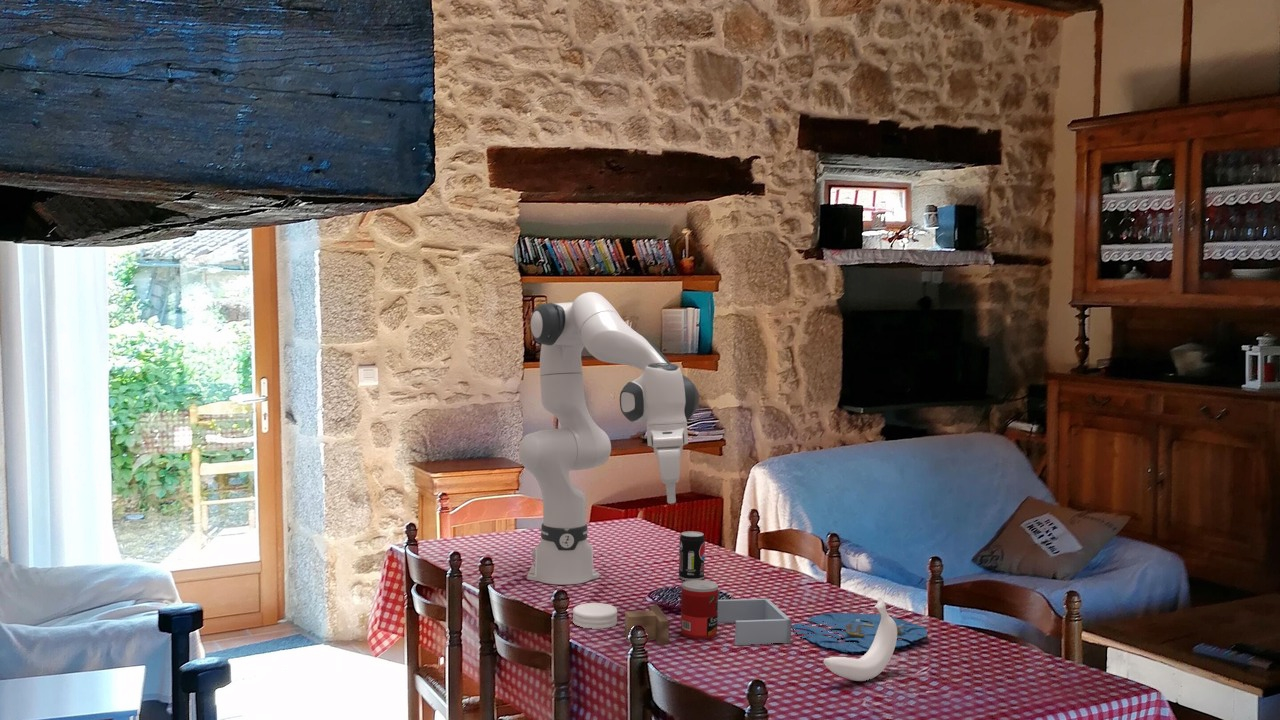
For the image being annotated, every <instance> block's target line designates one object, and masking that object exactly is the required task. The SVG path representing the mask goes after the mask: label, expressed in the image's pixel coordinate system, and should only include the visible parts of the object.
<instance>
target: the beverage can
mask: <svg viewBox="0 0 1280 720" xmlns="http://www.w3.org/2000/svg"><path fill="white" fill-rule="evenodd" d="M704 536H705V535H704V533H703V532H701V531H693V530H692V531H691V530H690V531H688V530H687V531H683V532H681V533H680V537H679V546H678V547H679V552H678V553H679V554H678V555H679V556H678V577H679V578H680V579H682V580H681V581H683V580H685V581H684V582H686V581H690V580H703V579H704V578H705V561H706V560H705V559H706V558H705V556H706V555H705V554H706V553H705V552H706V551H705V550H706V538H705V537H704Z"/></svg>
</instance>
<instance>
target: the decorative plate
mask: <svg viewBox="0 0 1280 720" xmlns="http://www.w3.org/2000/svg"><path fill="white" fill-rule="evenodd" d="M890 617H891V618H892V619H893V620H894V622H895V623H896V626H897V639H903V640H897V641H896V645H895V648H896V649H900V648H903V647H907V645H911V643H910V642H915V641H918V640H920V639H923V638H926V637H927V636H928V630H927V629H926V627H925V626H922V625H920V624H919V625H918V624H916V623H911V622H907V620H903V619H899V618H897V617H893V616H890ZM809 618H811V619H809ZM803 620H807V621H809V622H812V623H808V624H809V625H805V624H806V623H794V624H792V626H791V629H795V630H800V629H801V631H797V634H802V633H803V634H807V633H809V634H807V635H804V636H803V635H802V638H801V639H802V640H803V638H806V639H805V640H808V641H809V642H811V643H816V644H817V645H819V646H820V647H825V649H826V648H827V649H828V648H829V649H830V648H831V649H834V650H837V651H840V652H842V653H843V652H844V653H848V652H849V653H851V655H852V654H854V652H856V653H857V652H858V653H861V652H863V651H864V652H867V651H868V650H869V649H870V647H871V645H872V643H873V641H874V638H875V636H876V633H877V630H878V627H879V624H880V621H881V615H880V613H879V614H878V613H873V614H870V613H855V612H846V613H845V612H833V613H832V612H825V613H822V614H815V616H814V615H813V616H809V617H808V616H807V618H806V619H804V618H803ZM823 621H824V622H823ZM815 623H816V624H815ZM824 623H825V624H824ZM826 623H827V624H826ZM820 624H822V625H826V626H828V627H830V626H834V627H831V629H830V628H825V627H826V626H825V627H822V626H821V625H820ZM835 624H836V625H835ZM802 625H804V626H802ZM812 625H816V626H814V627H808V626H812ZM819 625H820V627H818V626H819ZM803 629H806V630H803ZM824 629H825V630H824ZM836 629H841V630H843V629H844V630H843V631H840V630H836ZM826 630H827V631H826ZM831 630H832V631H831ZM821 631H823V632H821ZM828 631H829V632H835V633H839V635H843V636H844V637H842V638H845V639H843V640H842V639H841V637H840V636H839V635H837V634H834V633H829V632H828ZM836 631H837V632H836ZM845 631H846V632H845ZM811 633H812V634H811ZM813 633H815V634H813ZM794 634H795V636H797V634H796V632H794ZM822 635H830V636H833V637H828V636H822ZM808 637H809V638H808ZM835 637H836V638H839V640H842V641H837V639H836V638H835ZM845 641H849V642H845ZM850 641H854V642H855V643H854V642H850ZM833 642H835V643H833ZM841 642H845V643H841ZM857 642H859V643H857Z"/></svg>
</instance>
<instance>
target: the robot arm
mask: <svg viewBox="0 0 1280 720" xmlns="http://www.w3.org/2000/svg"><path fill="white" fill-rule="evenodd" d="M529 325H530V327H529V328H530V332H531V335H532V337H533V338H534V340H535V342H536V343H538V344H541V347H540V356H539V376H540V377H539V380H540V381H539V383H540V396H541V397H540V398H541V400H540V401H541V404H542V406H543V409H545V410H546V411H547V412H548V413H550V414H551V415H552V414H553V416H555V417H556V418H557V420H558V422H559V426H560V428H551V429H550V428H549V429H541V430H538V431H537V430H536V431H533V432H530V433H527V434H526V435H524V437H523V438H522V439H521V441H520V443H519V446H518V457H519V460H520V463H521V464H522V467H524V469H525V470H527V471H528V472H529V473H530V474H531V475H533V477H534V478H535V479H536V481H537V483H538V485H539V488H540V491H541V496H542V517H543V518H542V523H541V526H540V527H541V528H540V538H541V540H540V542H539V543H538V544H537V545H536V547H535V549H532V551H531V552H532V553H531V554H532V555H531V559H532V560H533V559H534V560H533V563H532V564H531V567H530V569H529V571H528V573H527V575H526V580H529V581H537V582H540V583H543V584H548V585H565V586H566V585H579V584H582V583H586V582H589V581H592V580H595V579H599V578H600V577H601V576H600V575H601V574H600V572H598V571H597V570H596V569H594V547H593V545H592V544H591V543H590V542H589V541H588V533H589V530H588V524H587V497H586V494H585V492H584V491H583V490H582V488H580V487H578V486H576V485H575V484H572V481H571V479H570V471H580V470H590V469H594V468H596V467H599V466H601V465H604V464H606V463H607V462H608V460H609V458H610V456H611V453H612V444H611V443H612V442H611V439H610V437H609V435H608V433H606V431H605V430H604V429H602V428H600V427H599V426H598V424H597V423H596V422H595V421H594V420H593V417H592V416H591V413H590V412H589V410H588V407H587V402H586V397H585V396H586V395H585V388H584V386H585V385H584V374H583V372H584V371H583V362H582V352H583V350H584V348H585V349H586V350H587V352H588V353H589V354H590V356H591V355H592V357H594V358H595V359H597V360H598V361H601V362H603V363H610V364H617V365H624V366H630V367H633V368H637V369H638V370H640V371H643V373H642V374H641V375H639V377H637V378H635V379H634V380H632V381H628V382H627V383H626V384H625V385H624V386H623V387H622V389H621V391H620V393H619V394H620V395H619V407H620V412H621V413H622V415H623V416H624V417H625V418H626V419H627V420H628V421H629V422H631V423H632V422H634V423H646V437H647V438H646V439H647V441H646V442H647V447H651V448H653V454H655V455H656V458H657V464H658V468H659V469H658V470H659V475H660V480H661V483H662V484H665V490H666V491H665V492H666V502H667V504H671V505H672V504H676V502H677V498H676V491H677V490H676V489H677V488H676V486H677V483H679V481H680V477H681V476H680V473H681V455H682V454H681V453H683V451H684V448H683V447H684V445H688V444H689V436H688V435H689V432H688V421H689V420H690V419H691V418H692V417H693V416H694V414H695V413H696V411H697V410H698V408H699V406H700V405H699V404H700V394H699V390H698V388H697V387H696V385H695V384H694V383H693V381H692V380H691V379H690V378H689V377H687V376H685V375H684V374H683V373H682V370H681V368H680V366H679V365H677V364H675V363H672V362H670V361H669V359H668V358H667V357H666V356H665V354H664V353H662V351H660V350H659V348H657V347H656V346H655V344H654V343H652V341H650V340H649V339H648V338H646V337H644V336H643V335H641V334H639V333H638V332H637V331H635V329H633V328H632V327H631V326H629V325H628V324H627V323H626V321H624V319H623V318H622V317H621V315H620V314H619V312H618V311H617V310H616V309H615V307H614V306H613V305H612V304H611V303H610V302H609V300H607V298H605V297H604V296H603V295H602V294H600V293H598V292H595V291H588V292H584V293H581V294H580V295H579V296H577V297H576V298H575V299H574V301H569V302H558V303H557V302H556V303H553V302H548V303H547V302H546V303H543V304H539V305H538V306H536V307H535V308H534V309H533V311H532V313H531V316H530V321H529Z"/></svg>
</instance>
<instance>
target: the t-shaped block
mask: <svg viewBox="0 0 1280 720" xmlns="http://www.w3.org/2000/svg"><path fill="white" fill-rule="evenodd" d="M635 625H641V626H643V627H644V628H645V630H646V632H647V634H648V639H647V640H655V641H656V642H657V643H658V645H659V646H661V645H669V642H670V641H669V635H670V621H669V619H668V617H667V616H666V615H665V613H664V612H663V611H662V609H661V608H660V606H659V605H657V604H653V605H650V604H649V605H648V610H631V611H630V610H629V611H628V610H627V611H625V612H624V636H625V637H626V639H627V640H628V635H629V632H630V630H631V628H632V627H633V626H635Z"/></svg>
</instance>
